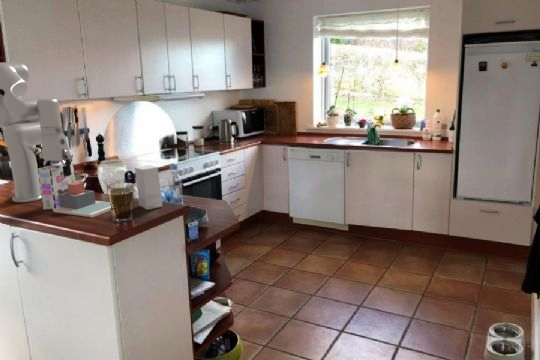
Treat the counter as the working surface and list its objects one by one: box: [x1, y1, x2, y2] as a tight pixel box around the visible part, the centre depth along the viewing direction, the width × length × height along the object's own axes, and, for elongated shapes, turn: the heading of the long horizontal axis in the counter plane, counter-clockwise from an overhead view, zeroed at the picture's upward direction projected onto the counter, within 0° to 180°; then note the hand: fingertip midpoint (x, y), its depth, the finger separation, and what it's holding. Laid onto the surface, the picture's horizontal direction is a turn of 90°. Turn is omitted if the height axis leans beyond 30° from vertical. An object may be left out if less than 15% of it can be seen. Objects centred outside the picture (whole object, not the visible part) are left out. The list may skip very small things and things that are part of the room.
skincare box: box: [134, 164, 163, 210], centre depth 175 cm, size 8×7×16 cm
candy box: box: [37, 161, 76, 211], centre depth 181 cm, size 14×6×16 cm, turn 166°
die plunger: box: [67, 181, 85, 196], centre depth 177 cm, size 6×6×8 cm
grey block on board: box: [52, 189, 112, 218], centre depth 176 cm, size 20×15×6 cm
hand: (58, 175), depth 179 cm, fingers open, 9 cm apart
